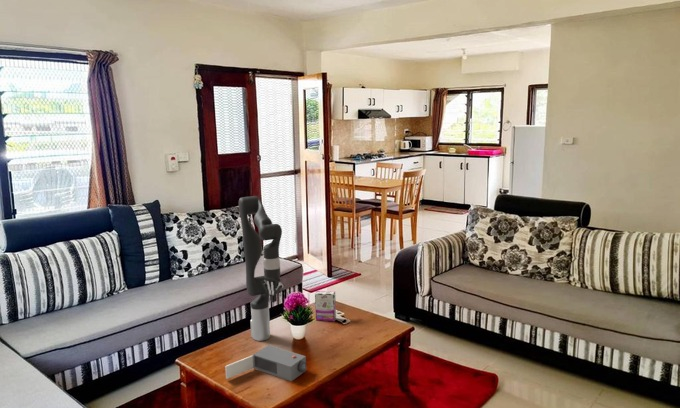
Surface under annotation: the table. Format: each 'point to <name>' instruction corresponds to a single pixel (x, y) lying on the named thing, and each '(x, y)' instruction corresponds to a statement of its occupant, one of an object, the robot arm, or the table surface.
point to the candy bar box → (325, 305)
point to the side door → (239, 366)
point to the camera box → (280, 362)
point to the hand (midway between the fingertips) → (273, 301)
